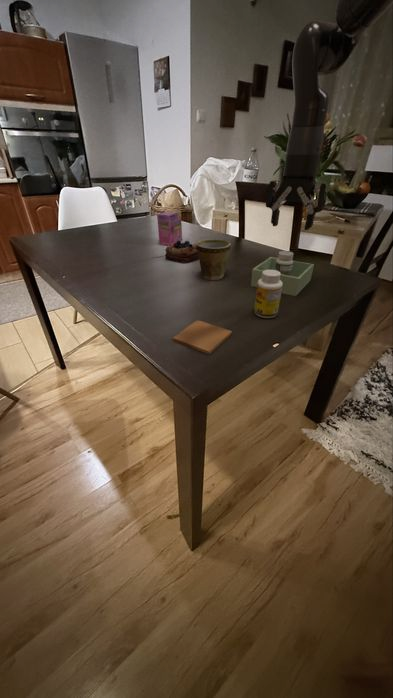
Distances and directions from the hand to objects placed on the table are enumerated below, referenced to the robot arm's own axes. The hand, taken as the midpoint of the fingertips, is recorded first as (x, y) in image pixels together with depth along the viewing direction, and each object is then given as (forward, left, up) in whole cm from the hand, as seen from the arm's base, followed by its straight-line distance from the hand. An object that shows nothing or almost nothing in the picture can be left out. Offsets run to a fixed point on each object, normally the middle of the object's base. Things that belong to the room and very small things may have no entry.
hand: (290, 227), depth 74 cm
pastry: (+39, -4, -16) cm, 42 cm away
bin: (0, 0, -15) cm, 15 cm away
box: (+56, -18, -16) cm, 61 cm away
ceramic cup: (+21, +5, -16) cm, 27 cm away
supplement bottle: (-4, +20, -16) cm, 26 cm away
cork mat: (+3, +37, -15) cm, 40 cm away
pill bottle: (0, 0, -15) cm, 15 cm away
